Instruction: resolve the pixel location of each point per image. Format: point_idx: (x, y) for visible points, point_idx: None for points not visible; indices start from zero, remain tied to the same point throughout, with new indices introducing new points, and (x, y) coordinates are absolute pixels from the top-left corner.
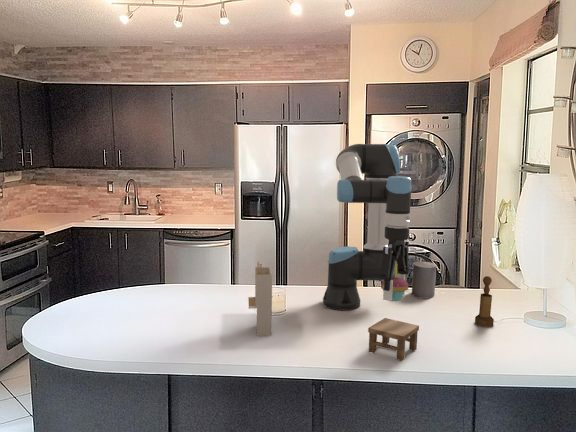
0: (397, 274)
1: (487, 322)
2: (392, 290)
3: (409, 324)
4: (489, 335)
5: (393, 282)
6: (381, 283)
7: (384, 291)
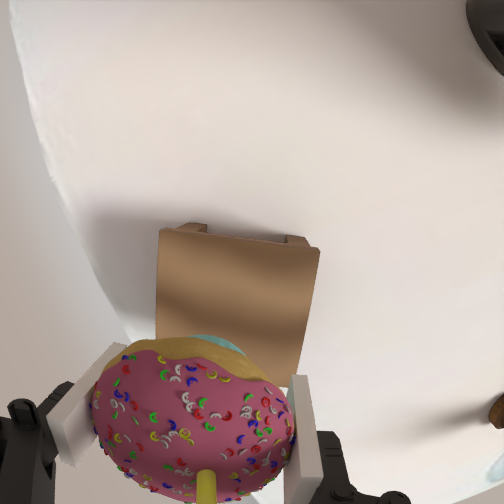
0: (299, 477)
1: (493, 423)
2: None
3: (288, 358)
4: (444, 437)
5: (110, 456)
6: (125, 361)
7: (91, 373)
